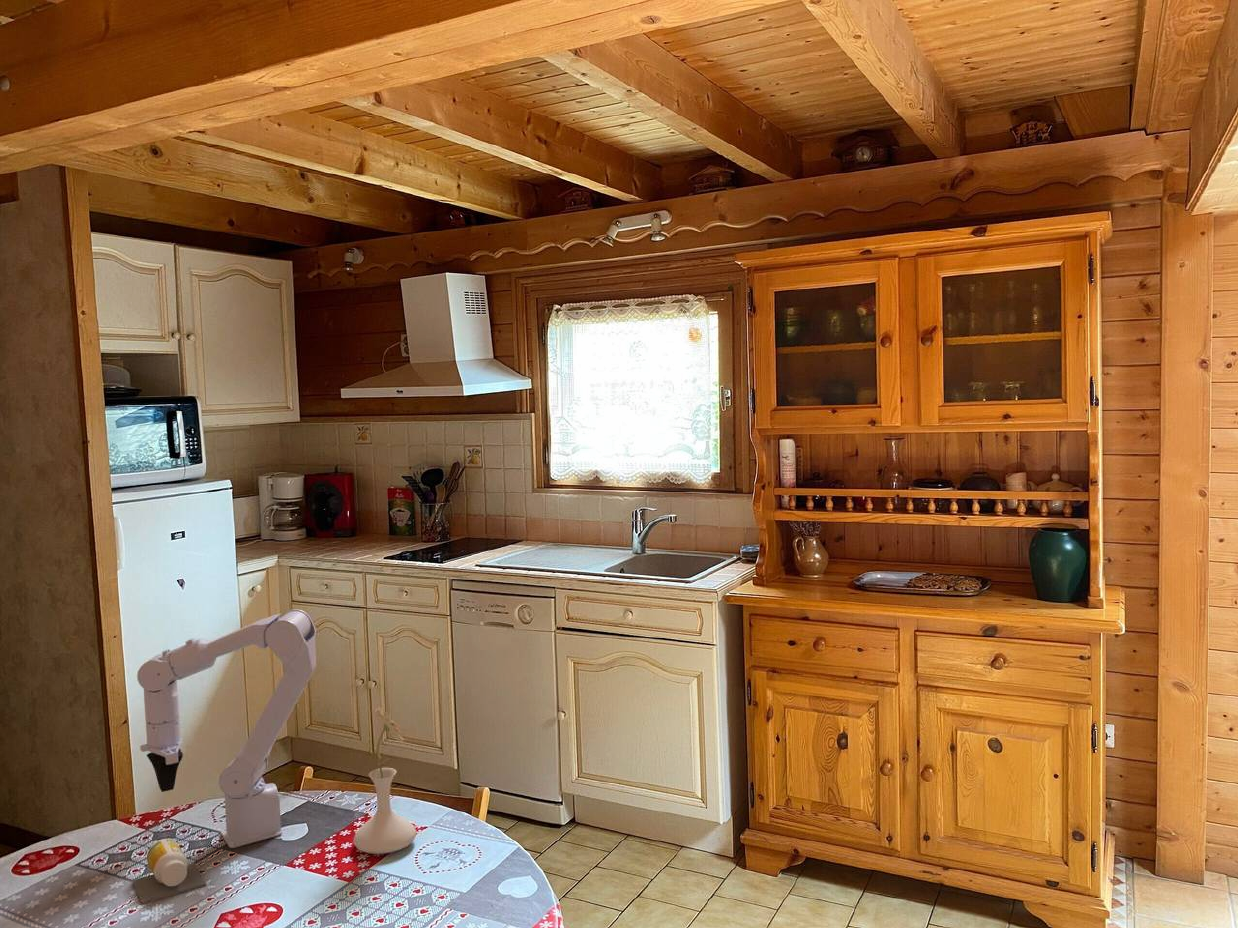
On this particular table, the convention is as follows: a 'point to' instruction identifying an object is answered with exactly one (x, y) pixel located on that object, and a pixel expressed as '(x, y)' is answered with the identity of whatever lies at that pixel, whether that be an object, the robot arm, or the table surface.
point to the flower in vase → (384, 807)
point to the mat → (155, 890)
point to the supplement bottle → (167, 862)
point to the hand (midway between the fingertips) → (167, 789)
